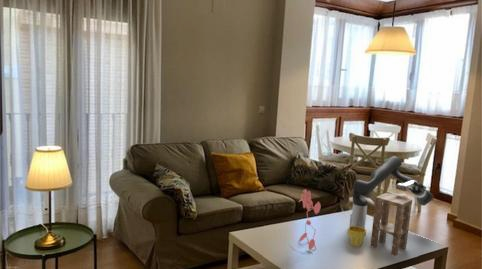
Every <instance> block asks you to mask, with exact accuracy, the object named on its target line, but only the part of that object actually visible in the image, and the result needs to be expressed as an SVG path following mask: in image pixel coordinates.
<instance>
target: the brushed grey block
mask: <svg viewBox="0 0 482 269" xmlns="http://www.w3.org/2000/svg"><path fill="white" fill-rule="evenodd" d="M414 180H415V179H414ZM414 180H411V181H408V182H406V183H402V182H399V183H397V184H396V186H395V189H396V190H400V191H404V192H408V191H410V189H409V188H411V187H413V186H415V185H414V184H413V183H414ZM415 181H416V182H417V183H418V180H415Z"/></svg>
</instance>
